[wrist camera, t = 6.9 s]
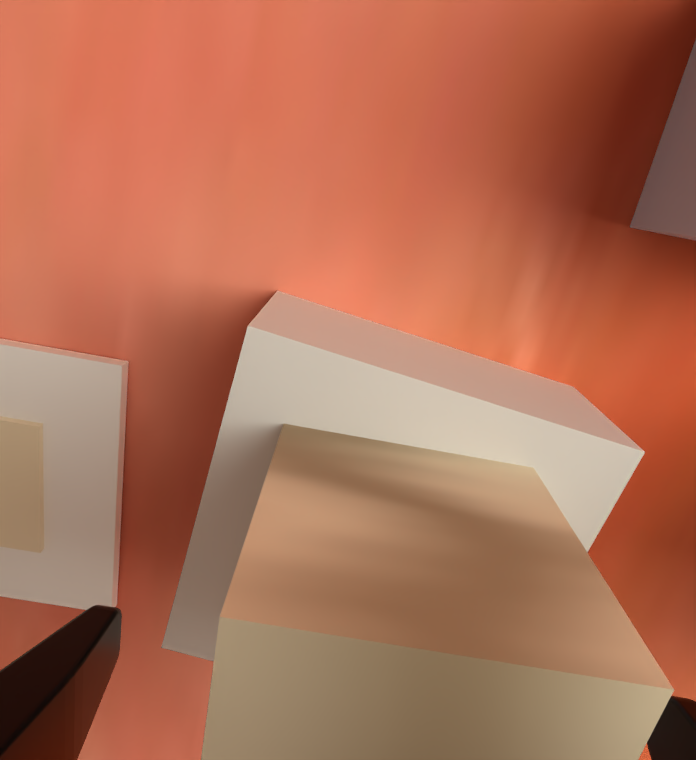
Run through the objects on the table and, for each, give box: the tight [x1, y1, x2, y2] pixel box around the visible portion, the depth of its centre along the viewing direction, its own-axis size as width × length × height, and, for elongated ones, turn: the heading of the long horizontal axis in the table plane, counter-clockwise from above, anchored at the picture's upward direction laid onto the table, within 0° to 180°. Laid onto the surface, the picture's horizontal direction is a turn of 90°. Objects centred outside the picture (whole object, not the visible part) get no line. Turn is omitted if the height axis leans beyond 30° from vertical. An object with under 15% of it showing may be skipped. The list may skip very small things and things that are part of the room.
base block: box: [161, 291, 645, 661], centre depth 13 cm, size 8×8×4 cm
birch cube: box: [201, 424, 674, 760], centre depth 9 cm, size 5×5×5 cm
